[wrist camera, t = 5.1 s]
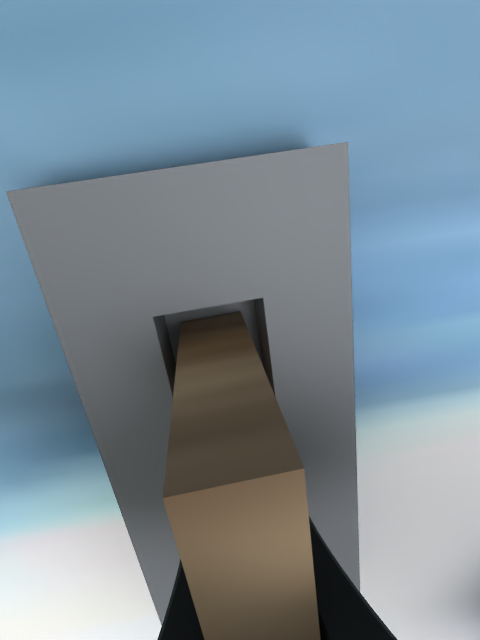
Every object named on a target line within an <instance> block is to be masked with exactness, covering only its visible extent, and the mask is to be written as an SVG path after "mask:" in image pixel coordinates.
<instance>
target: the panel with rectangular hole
mask: <svg viewBox="0 0 480 640" xmlns="http://www.w3.org/2000/svg"><path fill="white" fill-rule="evenodd" d="M6 193H7V196H8V199H9V201H10V204H11V207H12V210H13V213H14V215H15V218H16V221H17V224H18V226H19V229H20V232H21V235H22V238H23V240H24V243H25V246H26V249H27V252H28V254H29V257H30V260H31V263H32V265H33V268H34V271H35V274H36V277H37V279H38V282H39V285H40V288H41V291H42V293H43V296H44V299H45V302H46V304H47V307H48V310H49V313H50V316H51V318H52V321H53V324H54V327H55V330H56V332H57V335H58V338H59V341H60V343H61V346H62V349H63V352H64V355H65V357H66V360H67V363H68V366H69V368H70V371H71V374H72V377H73V380H74V382H75V385H76V388H77V391H78V394H79V396H80V399H81V402H82V405H83V407H84V410H85V413H86V416H87V419H88V421H89V424H90V427H91V430H92V433H93V435H94V438H95V441H96V444H97V446H98V449H99V452H100V455H101V458H102V460H103V463H104V466H105V469H106V472H107V474H108V477H109V480H110V483H111V485H112V488H113V491H114V494H115V497H116V499H117V502H118V505H119V508H120V510H121V513H122V516H123V519H124V522H125V524H126V527H127V530H128V533H129V536H130V538H131V541H132V544H133V547H134V549H135V552H136V555H137V558H138V561H139V563H140V566H141V569H142V572H143V575H144V577H145V580H146V583H147V586H148V588H149V591H150V594H151V597H152V600H153V602H154V605H155V608H156V611H157V614H158V616H159V619H160V622H161V625H162V624H163V621H164V617H165V614H166V611H167V607H168V604H169V601H170V597H171V594H172V590H173V587H174V583H175V579H176V575H177V571H178V567H179V563H180V555H179V552H178V549H177V545H176V542H175V538H174V535H173V532H172V528H171V525H170V521H169V518H168V515H167V511H166V508H165V505H164V501H163V490H164V480H165V470H166V461H167V451H168V441H169V432H170V422H171V412H172V403H173V393H174V383H175V374H176V364H177V354H178V345H179V335H180V325H181V322H185V321H191V320H197V319H202V318H208V317H214V316H219V315H225V314H231V313H236V312H241V313H242V316H243V318H244V321H245V323H246V326H247V328H248V331H249V333H250V336H251V338H252V341H253V343H254V346H255V348H256V351H257V353H258V355H259V358H260V360H261V363H262V365H263V368H264V370H265V373H266V375H267V378H268V380H269V383H270V385H271V388H272V390H273V393H274V395H275V397H276V400H277V402H278V405H279V407H280V410H281V412H282V415H283V417H284V420H285V422H286V425H287V427H288V430H289V432H290V435H291V437H292V440H293V442H294V444H295V447H296V449H297V452H298V454H299V457H300V459H301V462H302V464H303V467H304V472H305V482H306V493H307V503H308V514H309V516H310V518H311V520H312V522H313V524H314V525H315V527H316V529H317V530H318V532H319V534H320V535H321V537H322V539H323V540H324V542H325V543H326V545H327V546H328V548H329V549H330V551H331V552H332V554H333V555H334V557H335V558H336V560H337V561H338V563H339V564H340V566H341V567H342V569H343V570H344V571H345V573H346V574H347V575H348V577H349V578H350V580H351V581H352V582H353V584H354V585H355V586H356V588H357V589H358V591H359V592H360V577H359V539H358V502H357V464H356V427H355V389H354V352H353V314H352V277H351V239H350V202H349V165H348V142H345V143H338V144H331V145H324V146H317V147H310V148H303V149H296V150H289V151H282V152H276V153H269V154H262V155H255V156H248V157H241V158H234V159H227V160H220V161H213V162H207V163H200V164H193V165H186V166H179V167H172V168H165V169H158V170H151V171H144V172H137V173H131V174H124V175H117V176H110V177H103V178H96V179H89V180H82V181H75V182H68V183H61V184H55V185H48V186H41V187H34V188H27V189H20V190H13V191H6Z"/></svg>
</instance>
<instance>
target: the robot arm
mask: <svg viewBox="0 0 480 640" xmlns="http://www.w3.org/2000/svg"><path fill="white" fill-rule="evenodd" d="M309 524H310V535H311V545H312V556H313V566H314V577H315V587H316V598H317V608H318V619H319V630H320V640H397V639H396V637H395V636H394V635H393V634H392V633H391V631H390V630H389V629H388V628H387V626H386V625H385V624H384V623H383V621H382V620H381V619H380V618H379V616H378V615H377V614H376V613H375V611H374V610H373V609H372V608H371V606H370V605H369V604H368V602H367V601H366V600H365V599H364V597H363V596H362V595H361V593H360V592H359V591H358V589H357V588H356V586H355V585H354V584H353V582H352V581H351V580H350V578H349V577H348V575H347V574H346V573H345V571H344V570H343V569H342V567H341V566H340V564H339V563H338V561H337V560H336V558H335V557H334V555H333V554H332V552H331V551H330V549H329V548H328V546H327V545H326V543H325V542H324V540H323V539H322V537H321V535H320V534H319V532H318V530H317V529H316V527H315V525H314V524H313V522H312V520H311V518H310V516H309ZM158 640H204V636H203V633H202V630H201V626H200V623H199V619H198V616H197V613H196V609H195V606H194V603H193V599H192V596H191V592H190V589H189V586H188V582H187V579H186V576H185V572H184V569H183V565H182V562H181V559H180V563H179V567H178V571H177V575H176V579H175V583H174V587H173V590H172V594H171V597H170V601H169V604H168V607H167V611H166V614H165V617H164V621H163V624H162V627H161V631H160V634H159V637H158Z"/></svg>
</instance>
